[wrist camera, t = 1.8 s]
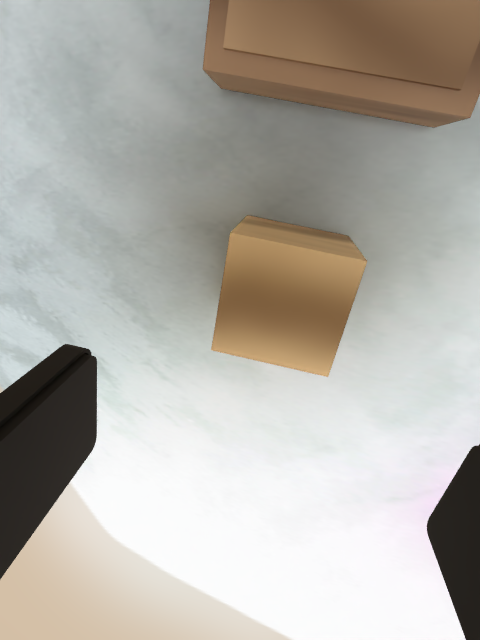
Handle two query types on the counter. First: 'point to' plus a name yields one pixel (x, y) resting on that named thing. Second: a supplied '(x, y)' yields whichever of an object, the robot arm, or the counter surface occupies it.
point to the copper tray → (351, 55)
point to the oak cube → (286, 294)
